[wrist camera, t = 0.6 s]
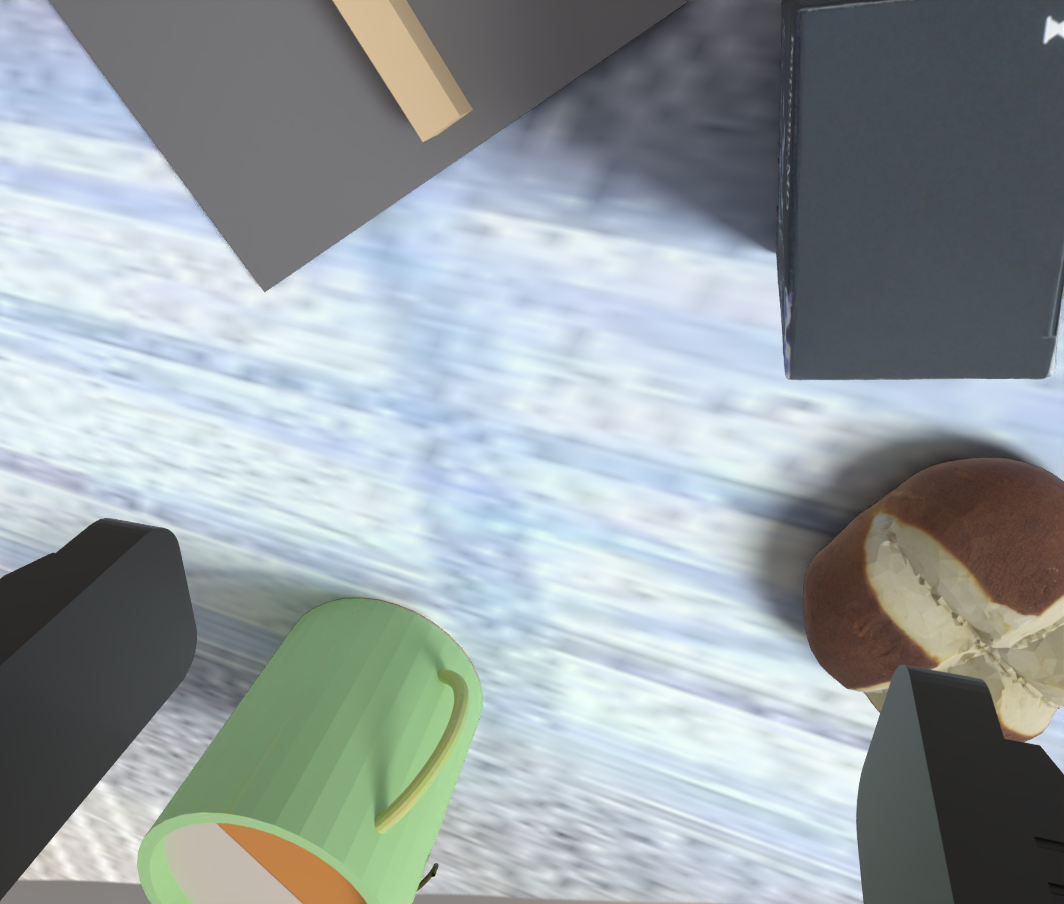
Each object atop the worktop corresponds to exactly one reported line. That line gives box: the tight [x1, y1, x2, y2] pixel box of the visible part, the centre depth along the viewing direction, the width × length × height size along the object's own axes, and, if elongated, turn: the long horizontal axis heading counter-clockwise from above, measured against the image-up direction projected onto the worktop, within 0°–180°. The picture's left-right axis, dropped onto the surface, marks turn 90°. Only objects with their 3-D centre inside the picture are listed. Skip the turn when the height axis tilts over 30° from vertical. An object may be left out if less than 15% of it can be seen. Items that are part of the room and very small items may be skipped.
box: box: [776, 0, 1064, 380], centre depth 22 cm, size 8×6×11 cm
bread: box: [803, 457, 1064, 742], centre depth 31 cm, size 11×11×5 cm
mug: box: [137, 598, 483, 904], centre depth 36 cm, size 13×10×12 cm
